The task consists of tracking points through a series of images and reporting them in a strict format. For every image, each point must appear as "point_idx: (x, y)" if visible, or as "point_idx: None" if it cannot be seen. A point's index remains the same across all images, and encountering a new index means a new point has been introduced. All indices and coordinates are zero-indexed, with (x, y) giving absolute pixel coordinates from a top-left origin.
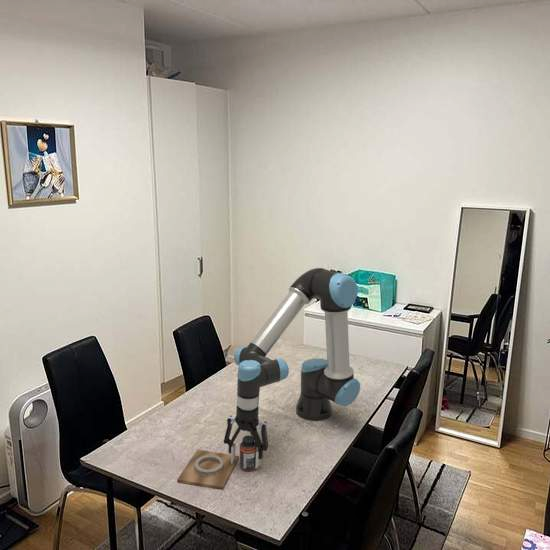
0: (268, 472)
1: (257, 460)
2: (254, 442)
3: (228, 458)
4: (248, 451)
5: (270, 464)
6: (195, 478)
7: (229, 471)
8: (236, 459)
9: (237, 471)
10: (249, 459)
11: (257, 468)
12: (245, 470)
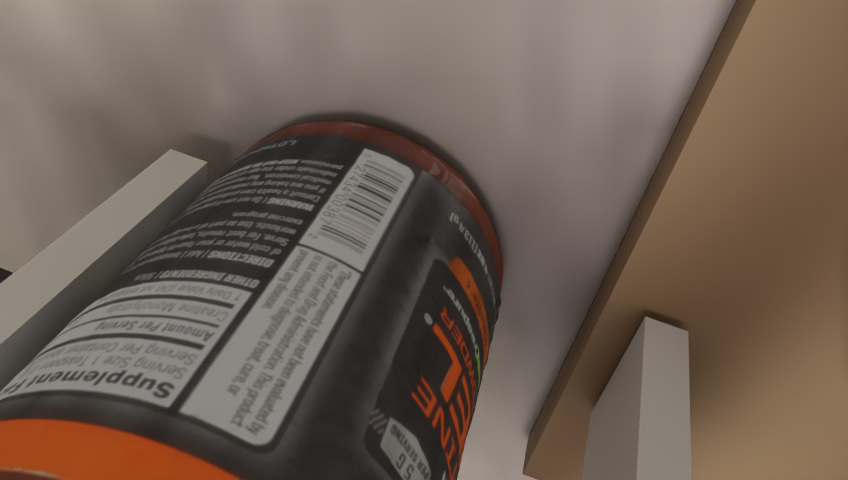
0: (14, 74)
1: (58, 247)
2: None
3: (713, 455)
4: (38, 474)
5: None
6: None
7: (750, 90)
8: (565, 410)
9: (556, 138)
10: (185, 266)
11: (170, 151)
12: (390, 131)
